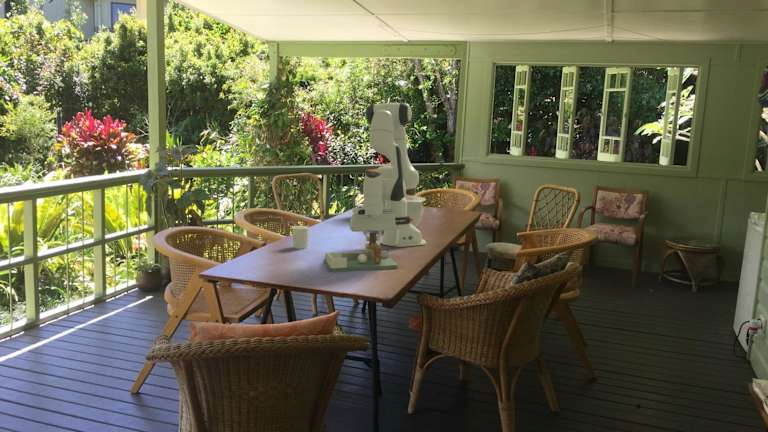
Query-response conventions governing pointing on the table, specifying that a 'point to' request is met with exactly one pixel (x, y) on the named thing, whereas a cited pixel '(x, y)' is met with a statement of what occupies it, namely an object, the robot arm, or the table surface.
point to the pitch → (355, 263)
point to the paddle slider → (374, 247)
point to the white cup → (300, 236)
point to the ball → (362, 258)
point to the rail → (355, 254)
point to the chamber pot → (413, 208)
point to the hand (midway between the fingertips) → (372, 240)
